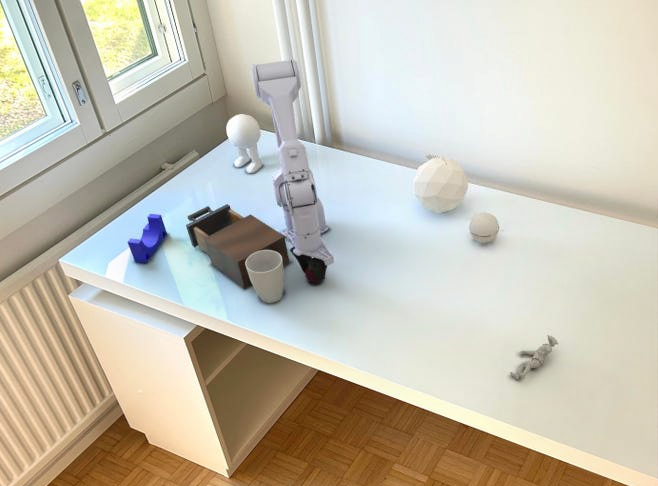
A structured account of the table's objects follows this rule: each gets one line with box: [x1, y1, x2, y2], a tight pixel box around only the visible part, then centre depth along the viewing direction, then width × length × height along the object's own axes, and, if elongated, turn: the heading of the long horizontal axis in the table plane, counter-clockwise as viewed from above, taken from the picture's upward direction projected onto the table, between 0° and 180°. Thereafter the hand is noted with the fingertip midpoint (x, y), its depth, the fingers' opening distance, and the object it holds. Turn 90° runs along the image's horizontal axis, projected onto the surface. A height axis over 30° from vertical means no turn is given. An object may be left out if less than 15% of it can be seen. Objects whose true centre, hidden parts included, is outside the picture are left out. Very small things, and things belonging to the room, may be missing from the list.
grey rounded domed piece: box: [468, 211, 503, 244], centre depth 179 cm, size 10×7×7 cm
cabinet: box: [205, 214, 290, 290], centre depth 175 cm, size 13×13×8 cm
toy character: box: [226, 113, 263, 174], centre depth 205 cm, size 9×9×15 cm
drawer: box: [185, 203, 245, 255], centre depth 181 cm, size 17×12×6 cm
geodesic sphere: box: [412, 154, 469, 214], centre depth 187 cm, size 15×14×14 cm
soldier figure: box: [509, 334, 559, 380], centre depth 150 cm, size 8×5×12 cm
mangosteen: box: [304, 265, 321, 286], centre depth 171 cm, size 4×4×4 cm
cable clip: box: [127, 213, 168, 264], centre depth 182 cm, size 12×4×6 cm, turn 168°
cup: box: [245, 250, 285, 304], centre depth 166 cm, size 8×8×10 cm
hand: (314, 276), depth 171 cm, fingers closed on mangosteen, 4 cm apart
